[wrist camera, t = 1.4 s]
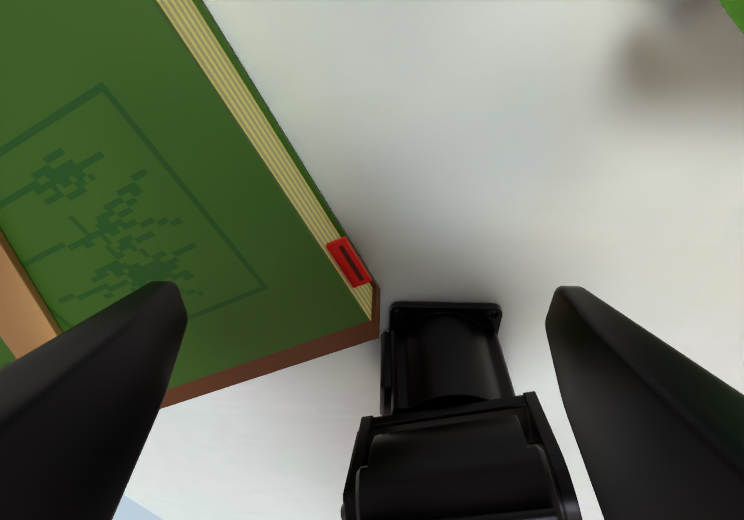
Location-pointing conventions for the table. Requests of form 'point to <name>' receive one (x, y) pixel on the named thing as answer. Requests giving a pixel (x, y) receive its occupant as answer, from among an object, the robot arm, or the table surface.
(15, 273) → the ruler
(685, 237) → the table surface
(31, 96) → the hardcover book
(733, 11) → the snack cup
